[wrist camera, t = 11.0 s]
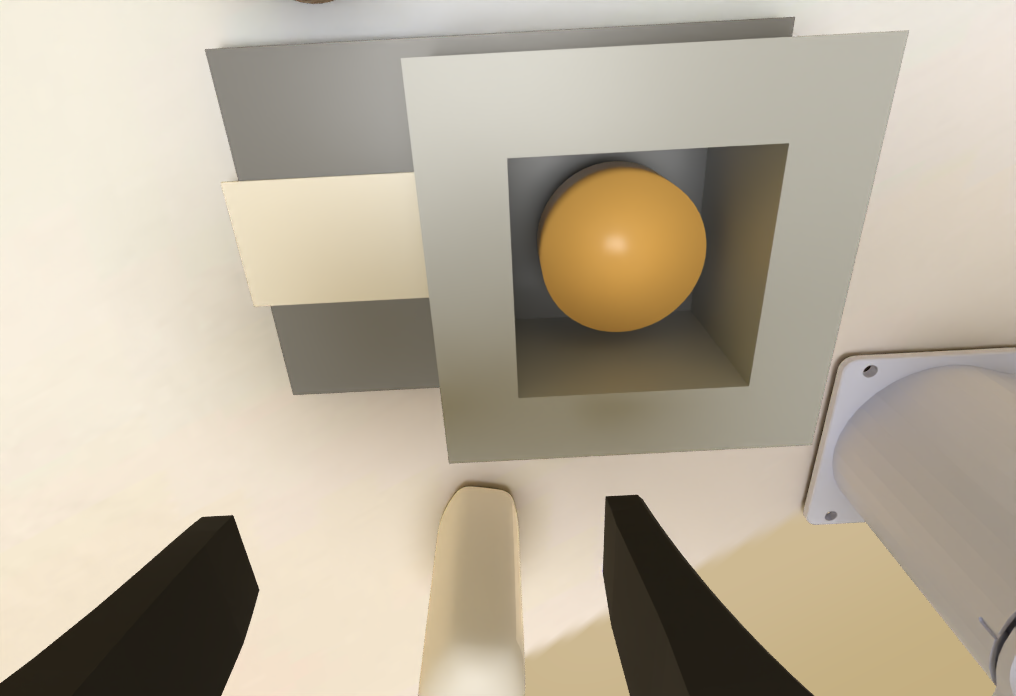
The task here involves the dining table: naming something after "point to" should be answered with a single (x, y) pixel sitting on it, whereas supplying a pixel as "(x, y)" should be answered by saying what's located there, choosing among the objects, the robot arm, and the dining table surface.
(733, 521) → the dining table surface
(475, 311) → the grey open box
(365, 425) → the dining table surface
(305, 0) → the dowel
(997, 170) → the dining table surface
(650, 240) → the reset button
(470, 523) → the eye dropper bottle
